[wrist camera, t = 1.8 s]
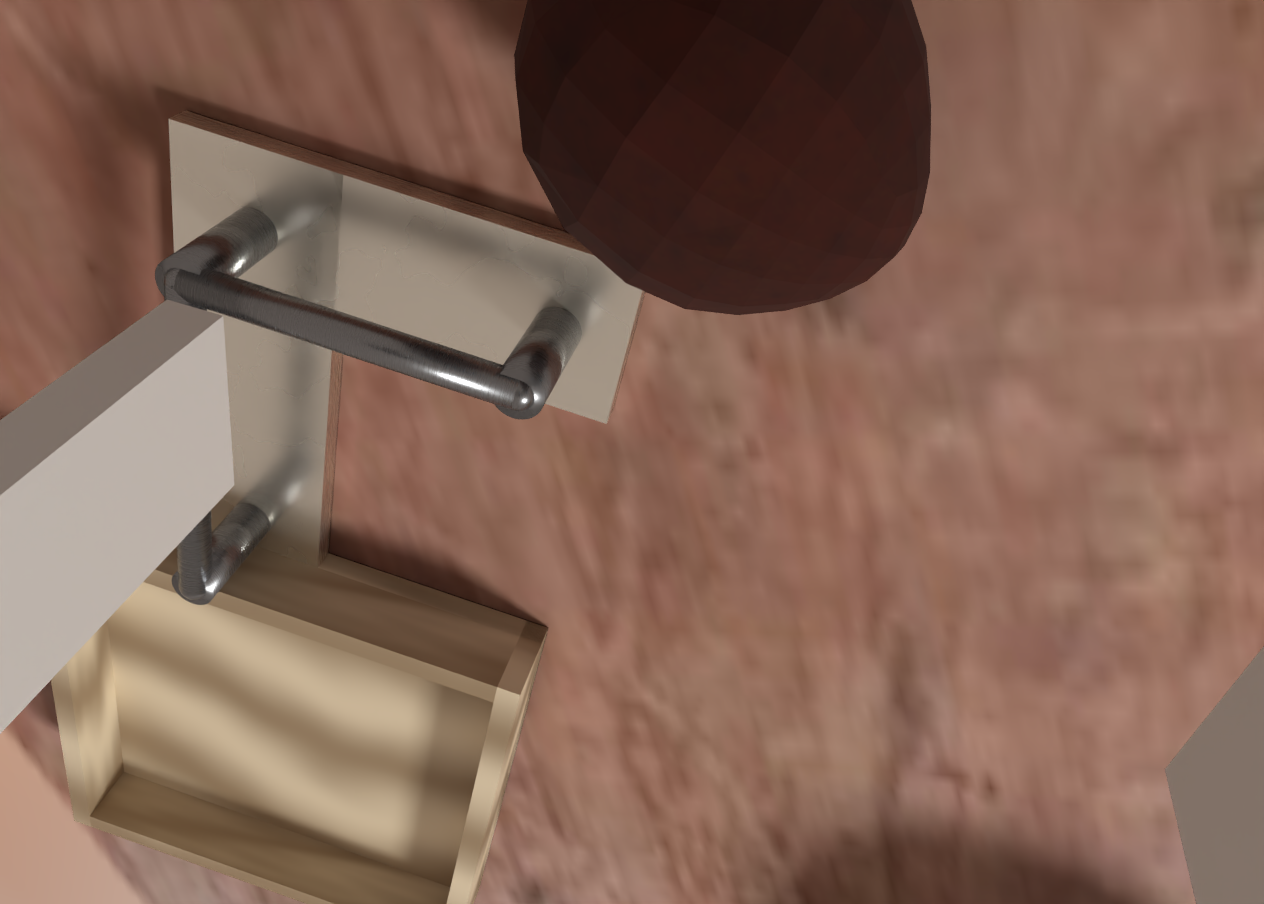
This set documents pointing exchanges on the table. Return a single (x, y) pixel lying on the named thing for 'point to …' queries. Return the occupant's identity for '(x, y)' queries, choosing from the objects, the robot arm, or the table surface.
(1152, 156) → the table surface
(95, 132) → the table surface
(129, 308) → the table surface
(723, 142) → the dark brown ball
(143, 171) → the table surface
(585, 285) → the corner grab bar
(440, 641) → the tray
